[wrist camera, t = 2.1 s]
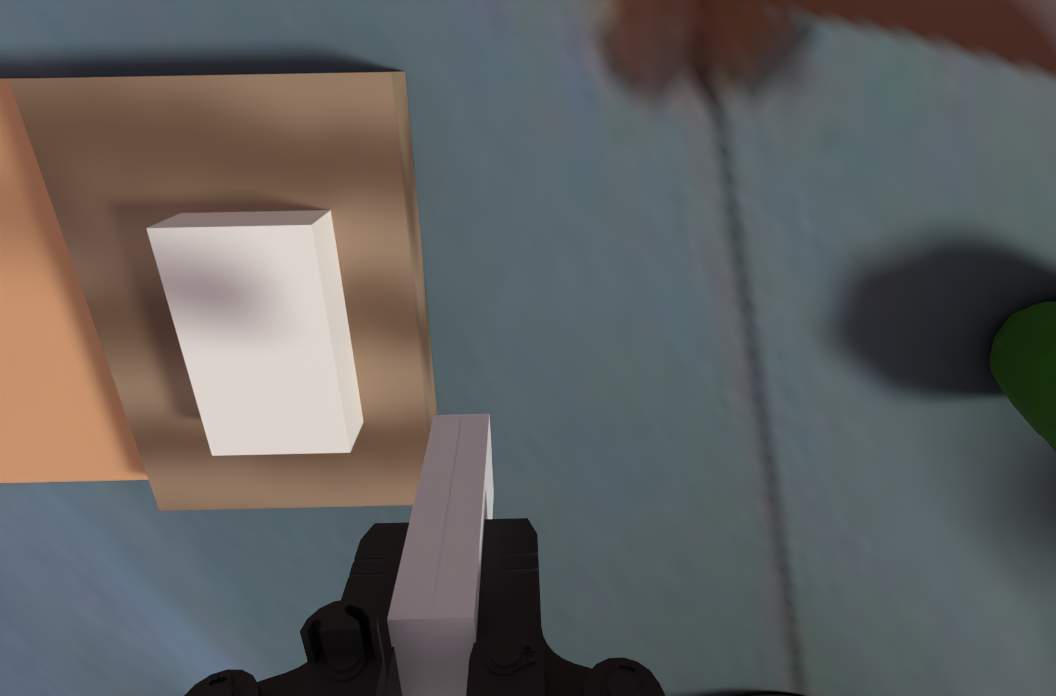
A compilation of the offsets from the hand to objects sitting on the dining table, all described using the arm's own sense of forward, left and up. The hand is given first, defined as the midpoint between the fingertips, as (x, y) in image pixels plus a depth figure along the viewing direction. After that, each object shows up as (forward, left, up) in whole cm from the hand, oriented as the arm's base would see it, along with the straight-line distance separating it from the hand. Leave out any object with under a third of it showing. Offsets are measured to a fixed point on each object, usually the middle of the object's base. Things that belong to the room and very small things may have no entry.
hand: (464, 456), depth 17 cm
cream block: (0, +9, -11) cm, 14 cm away
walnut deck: (0, +10, -14) cm, 17 cm away
